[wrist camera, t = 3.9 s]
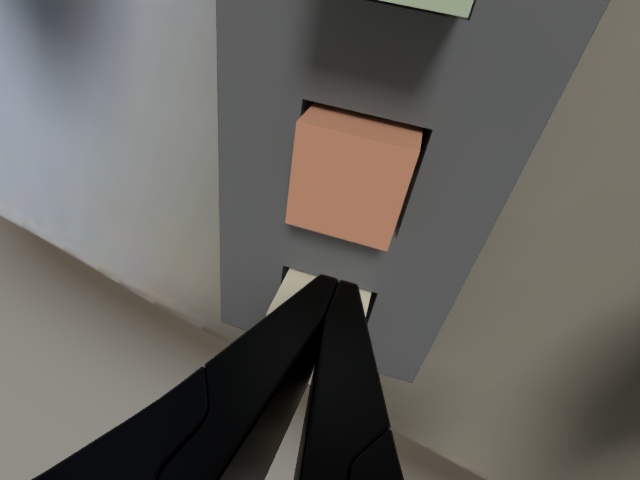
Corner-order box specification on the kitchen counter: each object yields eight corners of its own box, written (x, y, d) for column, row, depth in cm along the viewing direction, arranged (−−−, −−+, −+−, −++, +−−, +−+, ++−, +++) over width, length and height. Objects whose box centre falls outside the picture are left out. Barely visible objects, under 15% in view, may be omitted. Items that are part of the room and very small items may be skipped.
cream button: (371, 290, 20) (360, 341, 17) (354, 344, 22) (342, 395, 20) (290, 266, 20) (266, 312, 17) (283, 321, 23) (261, 368, 20)
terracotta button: (424, 120, 16) (420, 151, 13) (395, 210, 18) (387, 251, 16) (321, 96, 16) (296, 121, 13) (307, 186, 19) (285, 223, 16)
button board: (702, -237, 9) (753, -278, 8) (414, 355, 24) (412, 383, 22) (244, -287, 11) (210, -330, 9) (235, 300, 25) (221, 322, 24)
